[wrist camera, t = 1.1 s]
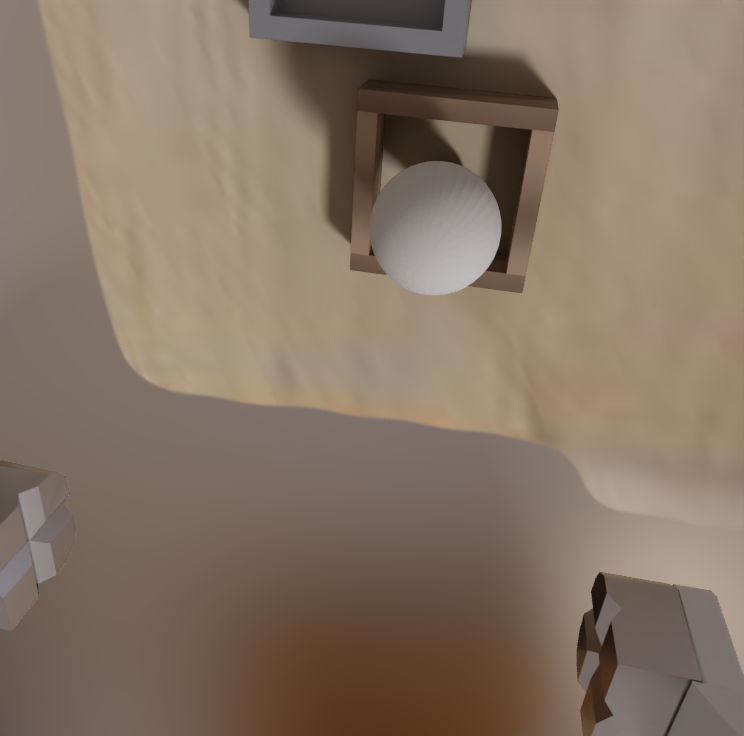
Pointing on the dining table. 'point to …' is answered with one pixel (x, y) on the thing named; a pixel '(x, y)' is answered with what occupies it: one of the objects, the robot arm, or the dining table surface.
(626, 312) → the dining table surface
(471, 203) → the light bulb
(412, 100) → the frame
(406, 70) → the dining table surface
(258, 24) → the tray
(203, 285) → the dining table surface
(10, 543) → the robot arm
